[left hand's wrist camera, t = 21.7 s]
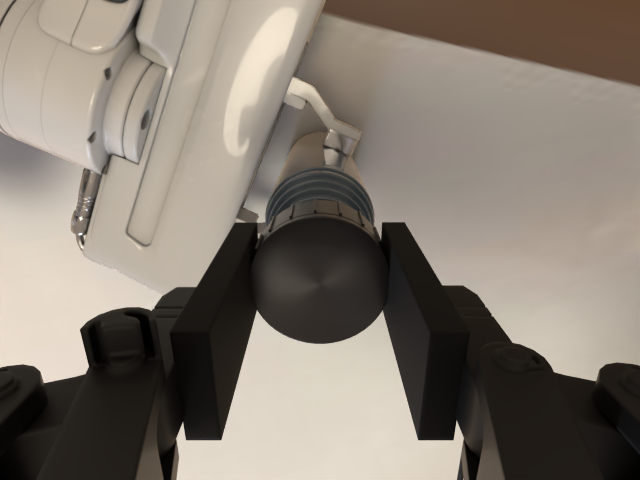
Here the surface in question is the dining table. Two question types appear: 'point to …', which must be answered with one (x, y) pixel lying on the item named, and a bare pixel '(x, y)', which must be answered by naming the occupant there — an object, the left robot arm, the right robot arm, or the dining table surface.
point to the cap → (319, 272)
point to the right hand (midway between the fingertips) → (333, 191)
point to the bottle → (318, 179)
